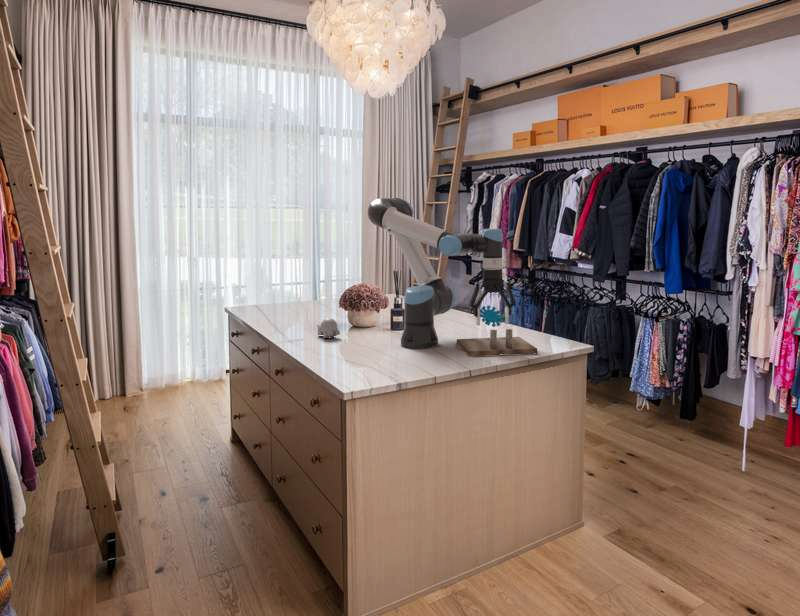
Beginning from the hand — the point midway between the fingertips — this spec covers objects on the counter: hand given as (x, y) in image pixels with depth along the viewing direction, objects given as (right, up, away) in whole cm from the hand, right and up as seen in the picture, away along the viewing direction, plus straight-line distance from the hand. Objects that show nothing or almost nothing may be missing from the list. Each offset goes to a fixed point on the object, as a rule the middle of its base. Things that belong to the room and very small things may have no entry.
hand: (492, 324), depth 236 cm
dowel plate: (+1, -9, -3) cm, 10 cm away
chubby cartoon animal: (-68, -7, +22) cm, 72 cm away
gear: (0, -1, 0) cm, 1 cm away
